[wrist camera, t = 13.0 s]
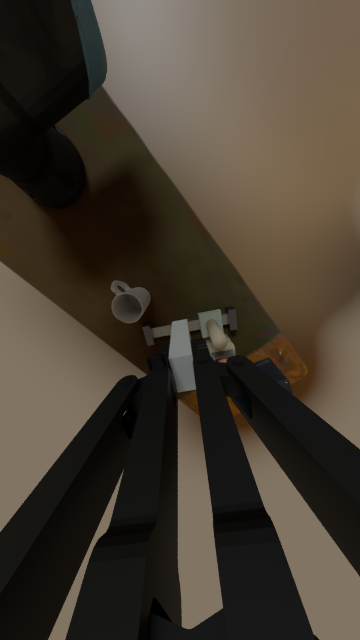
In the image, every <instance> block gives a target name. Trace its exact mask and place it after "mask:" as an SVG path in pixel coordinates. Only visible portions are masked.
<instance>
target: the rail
mask: <svg viewBox="0 0 360 640" xmlns="http://www.w3.org/2000/svg"><path fill="white" fill-rule="evenodd" d="M221 317H222V324H223V325H226V324H227V327H228V328H229V329H230V331H232V330H237V329H238V327H237V318H236V309H235V308H234V307H233V306H229V307H225V312H224V313H221ZM187 322H188V327H189V331H194V330H199V329H201V327H200V322H199V317H198V318H192V319H187ZM142 328H143V332H144V335H145V338H146V342H147V345H148V346H150V345H155V341H156V337H162V336H167V335H171V328H172V323H167V324H161V325H156V326H152V323H151V322H146V323H144V325H143V326H142Z"/></svg>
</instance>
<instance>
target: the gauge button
mask: <svg viewBox="0 0 360 640" xmlns="http://www.w3.org/2000/svg"><path fill="white" fill-rule="evenodd" d="M228 358H229V357H228ZM228 358H222V359H217V362H226V360H227V359H228Z"/></svg>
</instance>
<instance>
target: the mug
mask: <svg viewBox="0 0 360 640" xmlns="http://www.w3.org/2000/svg"><path fill="white" fill-rule="evenodd" d="M117 285H119V286H121V287H122V288H123V289H124V290H125V291H126V292H121V291H120V290H119V289H118V287H117ZM110 289H111V290H112V291H113V292H114V293H115V294H116V295H117V296H116V297H115V298H114V299H113V301H112V312H113V314H114V316H115V317H116V318H117V319H118V320H120V321H122V322H124V323H134V322H136V321H138V320H139V319H140V317H141V316H142V314H143V313H144V311H145V310H146V308H147V307H148V305H149V304H150V301H151V296H150V294H149V292H148V291H147V290H146V289H145V288H142V287H136V288H133V289H131V288H130V287H129V286H128V285H127V284H126V283H124V282H121V281H113V282H112V285H111V288H110Z"/></svg>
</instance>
